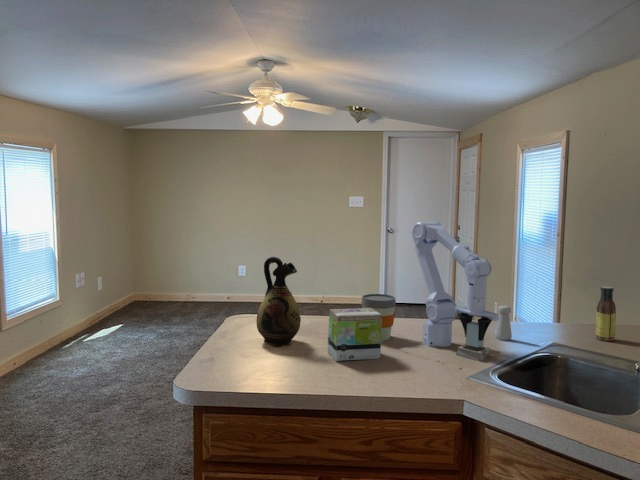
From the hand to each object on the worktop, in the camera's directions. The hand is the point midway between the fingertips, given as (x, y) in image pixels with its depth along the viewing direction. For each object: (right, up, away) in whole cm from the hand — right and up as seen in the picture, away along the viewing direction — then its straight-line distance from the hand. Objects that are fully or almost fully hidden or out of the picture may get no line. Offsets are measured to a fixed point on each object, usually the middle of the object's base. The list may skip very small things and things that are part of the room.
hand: (474, 338), depth 156 cm
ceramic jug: (-65, -4, +14) cm, 67 cm away
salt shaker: (+17, -5, +20) cm, 27 cm away
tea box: (-39, -6, +1) cm, 39 cm away
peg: (0, -2, 0) cm, 2 cm away
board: (+2, -6, +3) cm, 7 cm away
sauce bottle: (+57, -6, +25) cm, 62 cm away
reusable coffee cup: (-29, -4, +22) cm, 36 cm away
